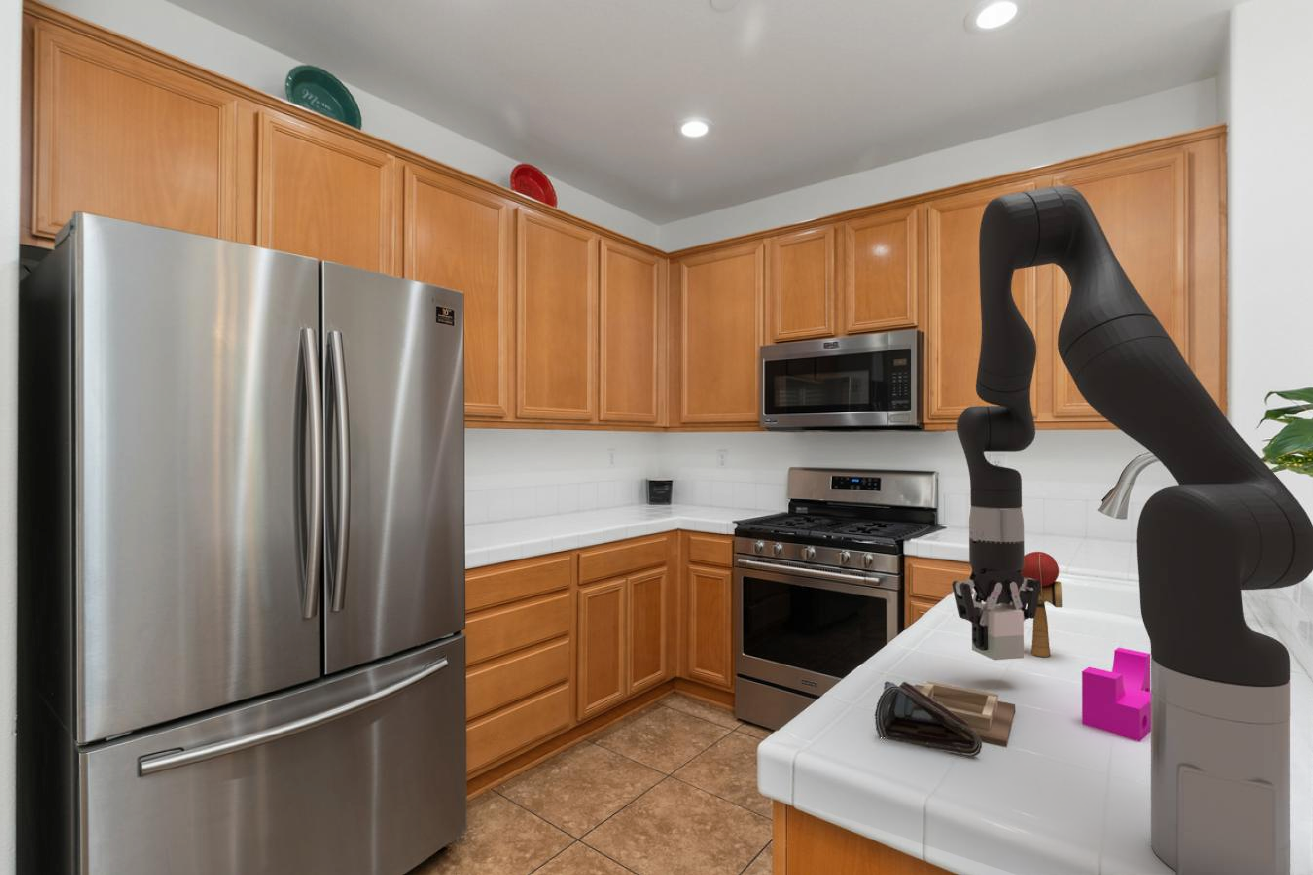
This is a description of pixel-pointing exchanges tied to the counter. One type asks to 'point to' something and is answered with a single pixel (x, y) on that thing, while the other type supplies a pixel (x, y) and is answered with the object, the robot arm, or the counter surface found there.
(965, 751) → the chocolate cake
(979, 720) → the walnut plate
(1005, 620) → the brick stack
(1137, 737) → the toy block
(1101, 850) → the counter surface
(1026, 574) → the kendama
